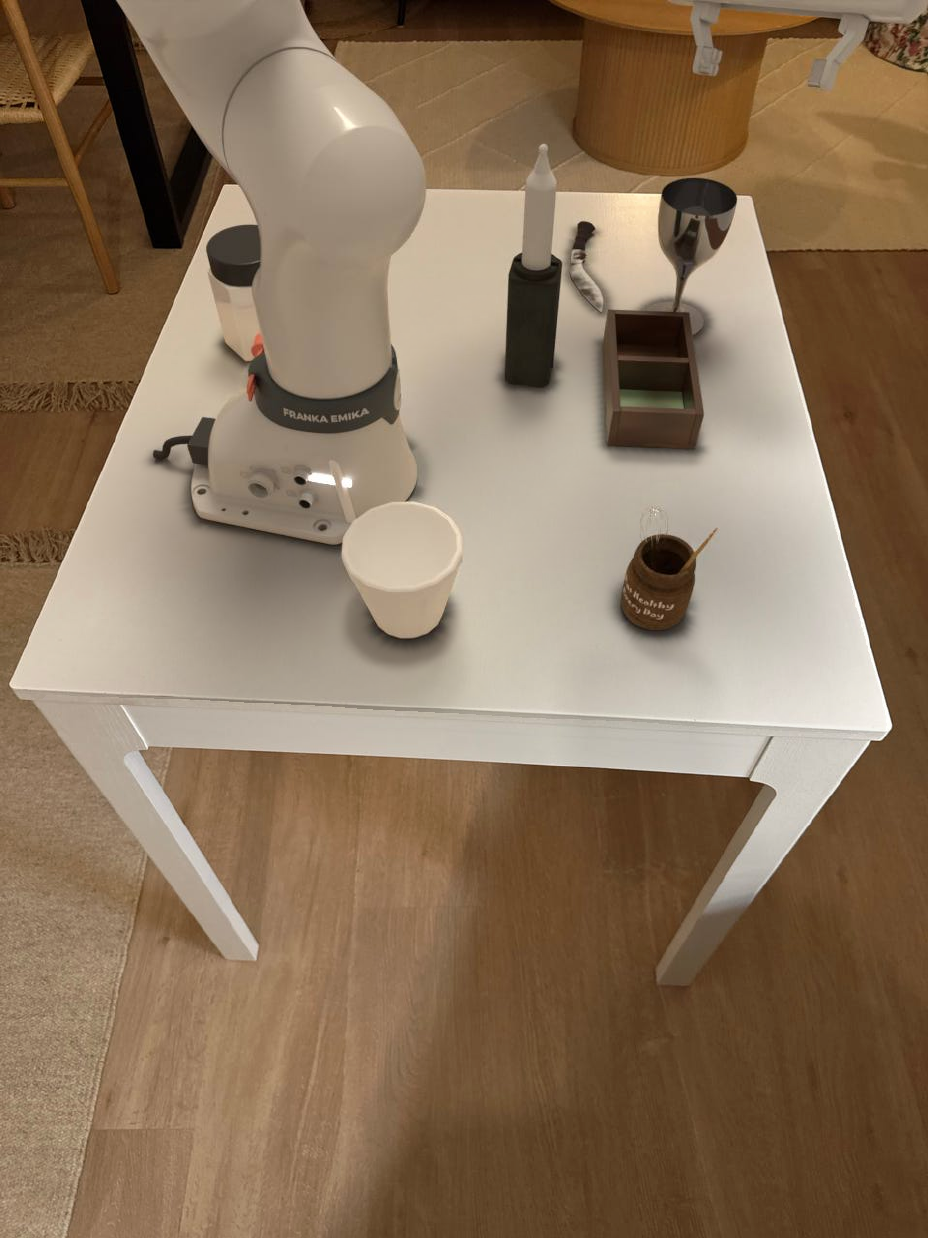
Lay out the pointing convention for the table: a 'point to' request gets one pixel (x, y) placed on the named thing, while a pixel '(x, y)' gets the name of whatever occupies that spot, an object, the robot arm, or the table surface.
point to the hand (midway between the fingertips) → (759, 81)
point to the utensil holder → (660, 580)
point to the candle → (534, 285)
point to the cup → (403, 565)
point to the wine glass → (692, 232)
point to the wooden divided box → (651, 380)
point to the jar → (235, 284)
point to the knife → (577, 271)
